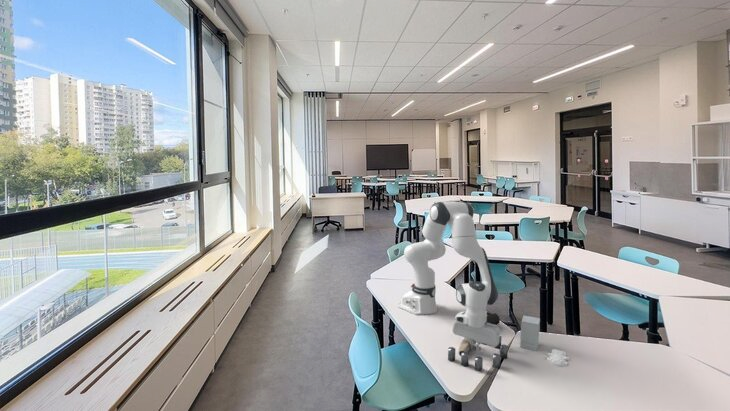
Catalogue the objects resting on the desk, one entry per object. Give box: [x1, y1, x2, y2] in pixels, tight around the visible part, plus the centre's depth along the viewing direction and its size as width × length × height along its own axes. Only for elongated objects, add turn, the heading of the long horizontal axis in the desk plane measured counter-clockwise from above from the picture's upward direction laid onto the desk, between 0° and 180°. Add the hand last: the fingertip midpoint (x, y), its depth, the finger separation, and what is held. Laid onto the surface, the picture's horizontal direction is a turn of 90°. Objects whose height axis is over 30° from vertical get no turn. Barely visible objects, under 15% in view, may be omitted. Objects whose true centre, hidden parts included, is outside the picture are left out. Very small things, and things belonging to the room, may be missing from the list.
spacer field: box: [447, 335, 509, 372], centre depth 167 cm, size 20×25×5 cm
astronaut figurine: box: [546, 348, 571, 367], centre depth 164 cm, size 9×12×3 cm
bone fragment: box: [458, 337, 477, 357], centre depth 171 cm, size 14×6×5 cm, turn 145°
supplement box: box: [519, 315, 541, 351], centre depth 174 cm, size 7×7×13 cm
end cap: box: [486, 311, 501, 326], centre depth 192 cm, size 10×7×7 cm
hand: (475, 348), depth 169 cm, fingers closed
